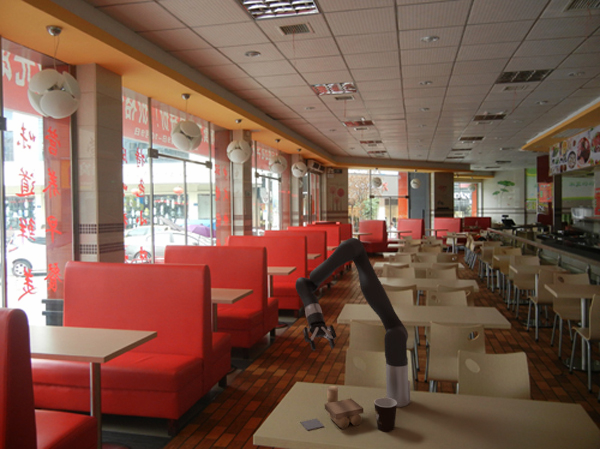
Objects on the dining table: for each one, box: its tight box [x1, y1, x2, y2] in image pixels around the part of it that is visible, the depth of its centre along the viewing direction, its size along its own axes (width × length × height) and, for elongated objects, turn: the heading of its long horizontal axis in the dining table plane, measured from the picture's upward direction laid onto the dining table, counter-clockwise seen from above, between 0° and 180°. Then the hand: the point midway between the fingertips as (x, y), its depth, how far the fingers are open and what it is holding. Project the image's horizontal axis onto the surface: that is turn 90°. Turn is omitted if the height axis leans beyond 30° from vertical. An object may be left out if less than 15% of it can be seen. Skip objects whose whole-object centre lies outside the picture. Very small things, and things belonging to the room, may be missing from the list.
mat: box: [300, 417, 325, 431], centre depth 182 cm, size 7×7×1 cm
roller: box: [326, 385, 339, 403], centre depth 193 cm, size 4×4×10 cm
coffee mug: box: [373, 397, 398, 433], centre depth 180 cm, size 12×9×10 cm
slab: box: [324, 398, 364, 430], centre depth 184 cm, size 12×10×6 cm
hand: (323, 348), depth 202 cm, fingers open, 8 cm apart
